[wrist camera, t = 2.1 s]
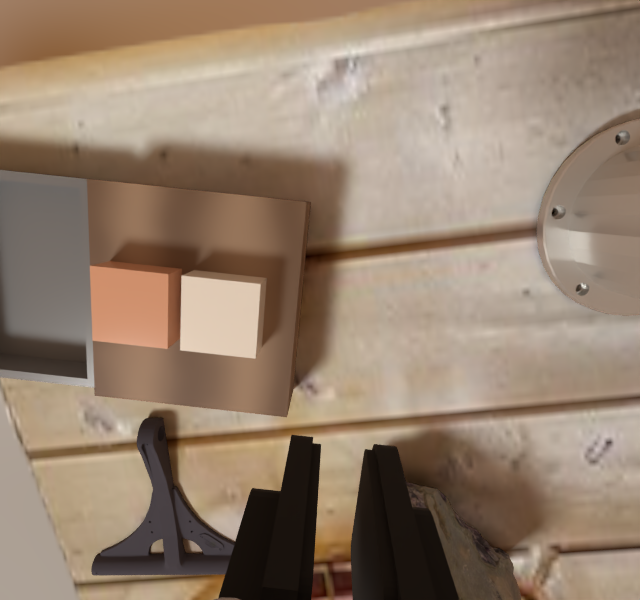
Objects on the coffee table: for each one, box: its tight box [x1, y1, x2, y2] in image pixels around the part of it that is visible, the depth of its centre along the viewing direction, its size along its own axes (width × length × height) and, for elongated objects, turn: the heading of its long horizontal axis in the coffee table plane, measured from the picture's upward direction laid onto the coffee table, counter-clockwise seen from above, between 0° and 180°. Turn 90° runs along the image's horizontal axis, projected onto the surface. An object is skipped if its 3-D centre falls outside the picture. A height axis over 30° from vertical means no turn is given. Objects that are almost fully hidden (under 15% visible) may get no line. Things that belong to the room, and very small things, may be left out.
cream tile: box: [180, 270, 267, 359], centre depth 23 cm, size 4×4×2 cm
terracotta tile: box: [90, 261, 182, 349], centre depth 23 cm, size 4×4×2 cm
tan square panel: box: [87, 179, 311, 417], centre depth 26 cm, size 13×14×4 cm
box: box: [0, 170, 94, 388], centre depth 27 cm, size 10×14×3 cm
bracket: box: [91, 418, 235, 575], centre depth 32 cm, size 14×15×3 cm
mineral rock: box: [406, 482, 521, 600], centre depth 27 cm, size 13×11×10 cm
